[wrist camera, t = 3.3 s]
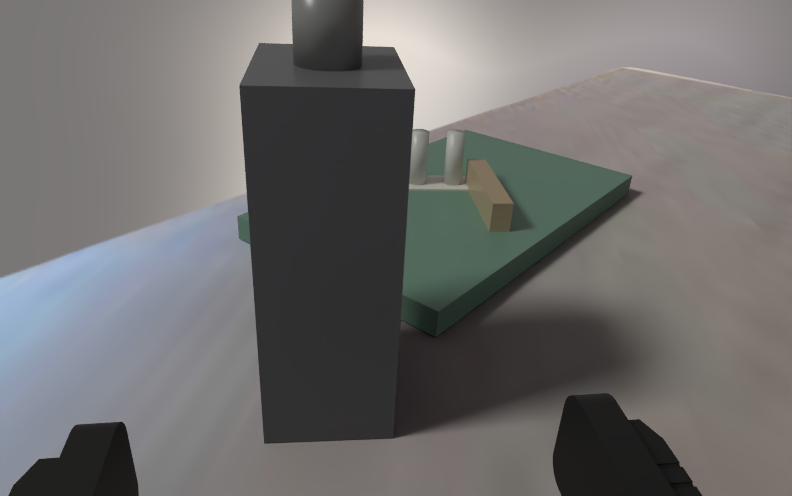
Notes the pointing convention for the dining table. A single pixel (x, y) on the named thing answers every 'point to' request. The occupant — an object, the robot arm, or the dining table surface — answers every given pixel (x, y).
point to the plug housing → (327, 224)
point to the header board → (486, 218)
